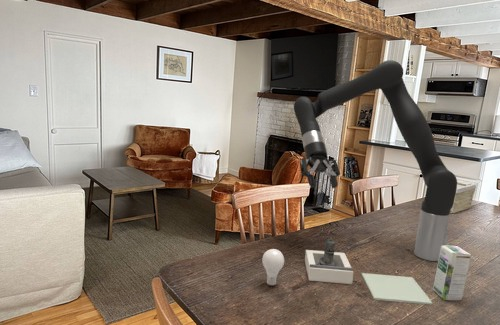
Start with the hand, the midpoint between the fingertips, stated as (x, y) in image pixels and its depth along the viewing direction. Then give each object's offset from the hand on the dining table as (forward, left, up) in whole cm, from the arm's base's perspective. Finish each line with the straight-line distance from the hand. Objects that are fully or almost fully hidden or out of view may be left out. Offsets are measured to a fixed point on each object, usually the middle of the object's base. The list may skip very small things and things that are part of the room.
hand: (324, 187), depth 118 cm
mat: (-21, +18, -25) cm, 37 cm away
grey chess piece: (-2, +11, -26) cm, 28 cm away
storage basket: (-83, -76, -26) cm, 115 cm away
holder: (-2, +11, -25) cm, 27 cm away
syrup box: (-36, +19, -26) cm, 48 cm away
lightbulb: (+16, +22, -26) cm, 37 cm away
